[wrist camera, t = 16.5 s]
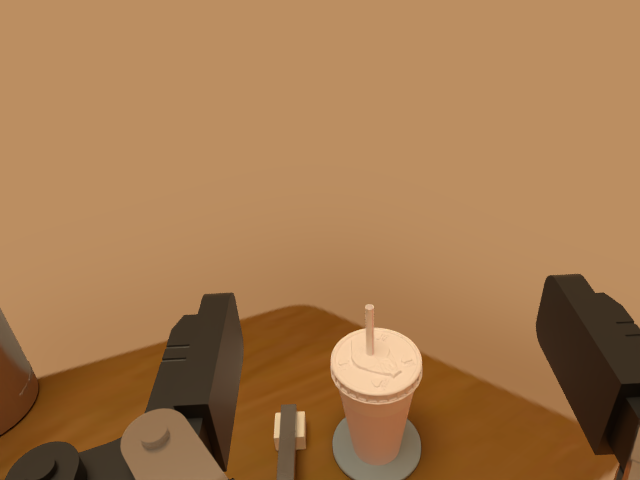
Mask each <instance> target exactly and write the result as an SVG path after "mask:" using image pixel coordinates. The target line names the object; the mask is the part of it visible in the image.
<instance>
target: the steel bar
mask: <svg viewBox="0 0 640 480" xmlns="http://www.w3.org/2000/svg"><path fill="white" fill-rule="evenodd" d="M296 442H297V408H296V404H290V405H281V417H280V434H279V450H278V467H277V480H295V477H296Z"/></svg>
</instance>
